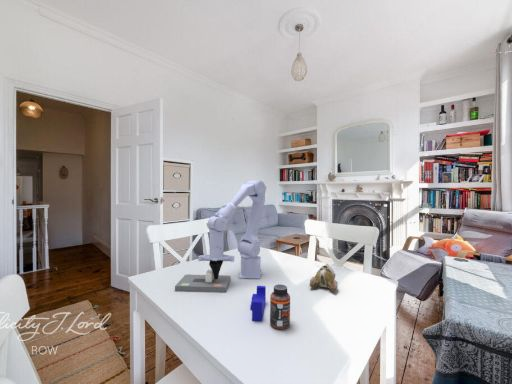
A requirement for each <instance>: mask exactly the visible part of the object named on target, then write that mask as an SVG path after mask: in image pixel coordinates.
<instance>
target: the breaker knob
mask: <svg viewBox="0 0 512 384" xmlns="http://www.w3.org/2000/svg"><path fill="white" fill-rule="evenodd" d="M204 275H205V282H212V281H213V279H214V275H213V271H212V269H211V268H210V269H208V270H207V271H206V272H205V274H204Z"/></svg>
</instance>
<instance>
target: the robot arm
mask: <svg viewBox="0 0 512 384" xmlns="http://www.w3.org/2000/svg"><path fill="white" fill-rule="evenodd" d="M266 190H267V186H266V184H265V182H264V181H263V180H261V179H258V180H247V179H246V180H245V181H244V182H243V183H242V184H241V186H240V189H239V190H238V191H237V193H236V194H235V195H234V196H233V197H232V199H231V200H230V202H225V203H222V205H221V207H220V209H219V210H218V211H217V212H215V213H214V215H213V216H210V218H208V220H207V223H206V226H207V229H208V230H209V231H208V232H209V253H208V254H203V255H202V254H201V255H199V256H198V259H197V260H198V262H202V261H203V262H209V263H208V266H209V267H210V269H212V271H213V275H214V279H218V277H219V275H220V271H221V268H222V265H223V264H224V262H231V263H234V262H235V255H228V254H224V251H225V250H224V242H225V241H224V238H225V236H224V232H225V231H224V230H225V229H226V228H227V226H228V223H229V222H228V221H230V219H231V218H232V217H233V216H234V214H236V212H237V209H236V208H237V207H238V206H239V205H240V204H241V203H242V202H243V201H244V200H245V199H246V198H247V197H249V198H250V200H251V201H252V204H251V208H250V213H249V216H248V222H247V226H246V229H245V234H243V236H241V238H240V240H239V242H238V245H237V251H238V252H239V255H240V271H239V272H240V273H239V275H238V278H239V279H261V273H262V268H261V266H262V265H261V262H262V260H261V259H262V257H261V256H260V255H259V254H260V252H261V247H260V246H261V241H260V239H259V237H258V233H259V230H260V224H261V219H262V215H263V212H264V206H265V202H266Z"/></svg>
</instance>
